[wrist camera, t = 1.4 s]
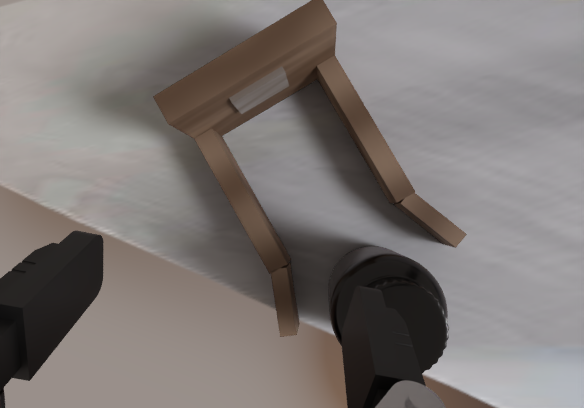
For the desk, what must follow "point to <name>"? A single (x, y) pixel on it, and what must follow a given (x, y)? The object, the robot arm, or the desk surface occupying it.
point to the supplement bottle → (393, 296)
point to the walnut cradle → (264, 94)
